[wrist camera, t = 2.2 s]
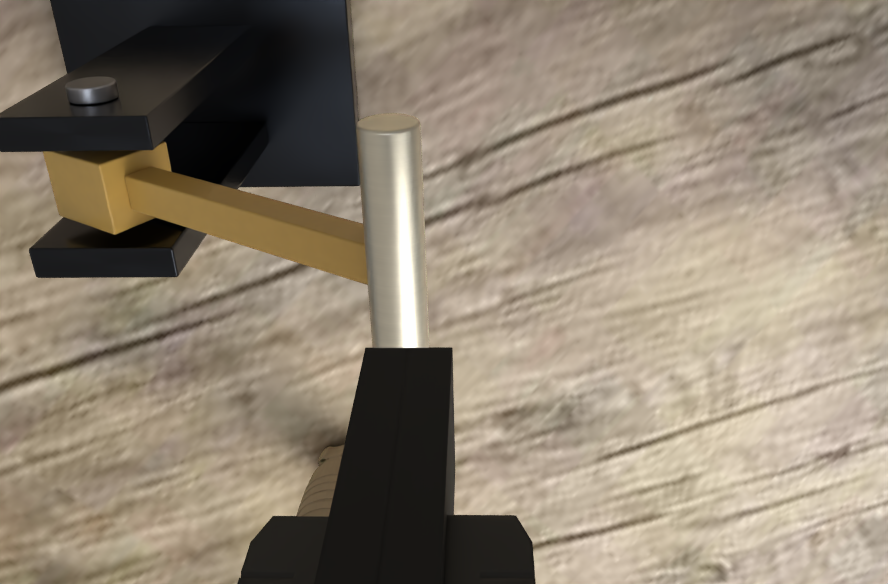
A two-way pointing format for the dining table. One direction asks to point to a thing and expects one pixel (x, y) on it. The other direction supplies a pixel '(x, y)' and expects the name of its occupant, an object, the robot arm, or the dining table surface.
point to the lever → (280, 217)
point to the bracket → (192, 110)
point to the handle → (322, 484)
